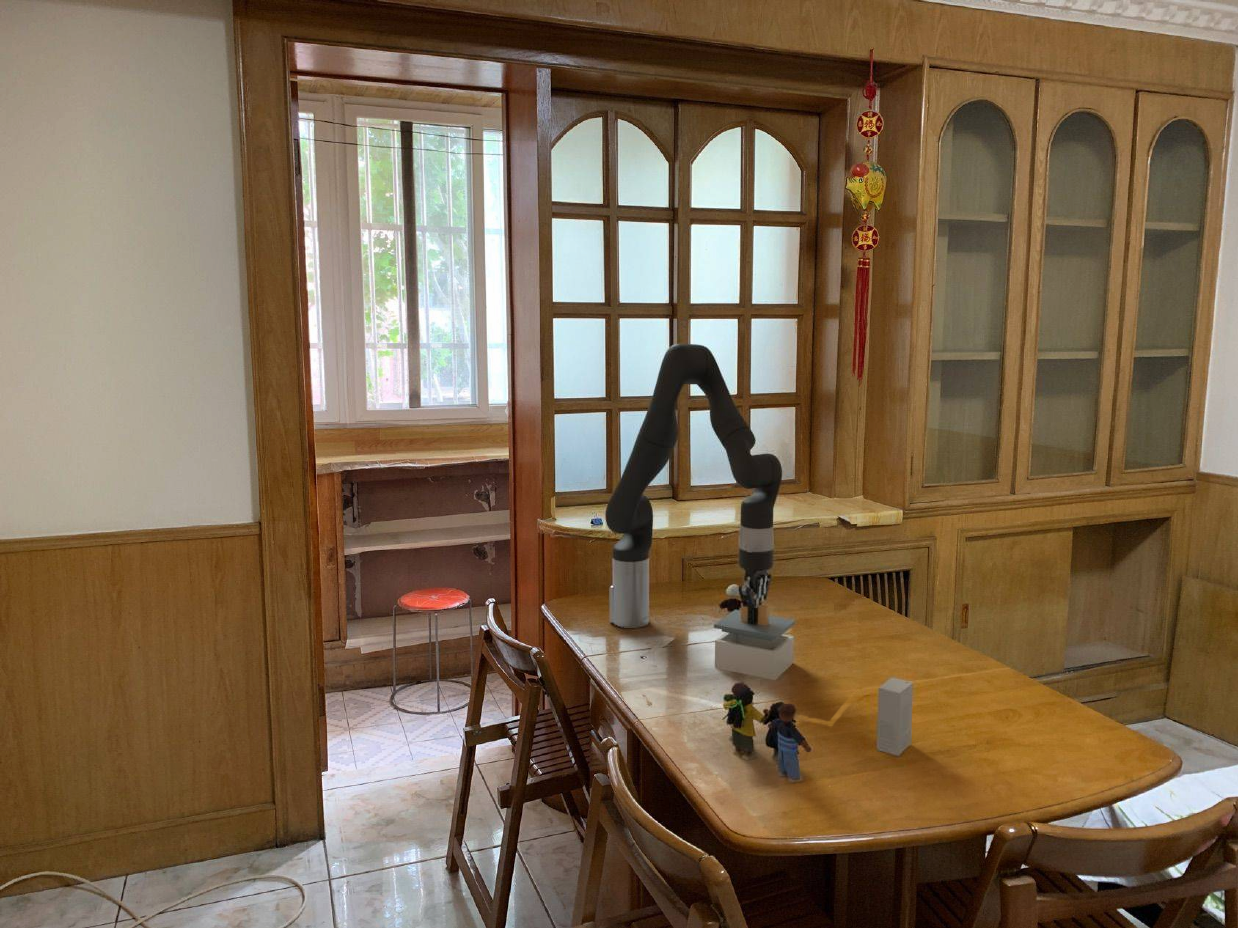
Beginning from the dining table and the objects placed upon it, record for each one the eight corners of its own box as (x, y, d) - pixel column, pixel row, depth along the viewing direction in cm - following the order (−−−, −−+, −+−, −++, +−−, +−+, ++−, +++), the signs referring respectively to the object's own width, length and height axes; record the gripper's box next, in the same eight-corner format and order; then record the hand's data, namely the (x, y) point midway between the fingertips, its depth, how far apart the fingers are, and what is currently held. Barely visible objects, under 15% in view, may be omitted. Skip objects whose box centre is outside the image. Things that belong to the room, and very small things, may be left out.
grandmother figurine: (747, 632, 222) (748, 582, 219) (748, 637, 218) (749, 587, 216) (716, 631, 222) (717, 582, 220) (716, 636, 219) (717, 586, 216)
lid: (713, 632, 196) (714, 606, 195) (735, 617, 206) (735, 592, 205) (775, 644, 189) (776, 617, 188) (794, 628, 198) (795, 602, 197)
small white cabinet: (714, 670, 198) (715, 640, 196) (735, 654, 207) (735, 625, 206) (774, 683, 190) (775, 652, 189) (793, 666, 200) (793, 636, 199)
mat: (640, 657, 205) (640, 655, 205) (669, 638, 217) (669, 636, 217) (703, 671, 197) (703, 669, 197) (729, 650, 209) (729, 648, 209)
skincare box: (888, 737, 166) (891, 676, 164) (911, 744, 163) (914, 682, 161) (875, 749, 161) (877, 686, 159) (898, 757, 158) (901, 693, 156)
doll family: (834, 773, 153) (837, 700, 151) (804, 793, 147) (806, 717, 144) (728, 730, 169) (729, 663, 167) (697, 746, 163) (697, 677, 161)
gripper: (752, 536, 202) (750, 610, 205) (727, 550, 190) (725, 628, 193) (784, 541, 198) (781, 616, 201) (760, 555, 186) (758, 634, 189)
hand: (754, 621), depth 197 cm, fingers closed on lid, 1 cm apart
